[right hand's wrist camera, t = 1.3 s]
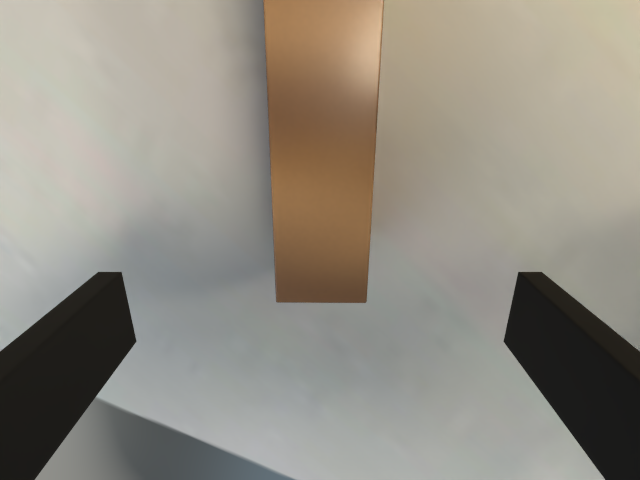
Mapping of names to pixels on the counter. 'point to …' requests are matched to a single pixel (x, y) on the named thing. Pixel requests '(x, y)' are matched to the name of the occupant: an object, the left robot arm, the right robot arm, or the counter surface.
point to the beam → (322, 144)
